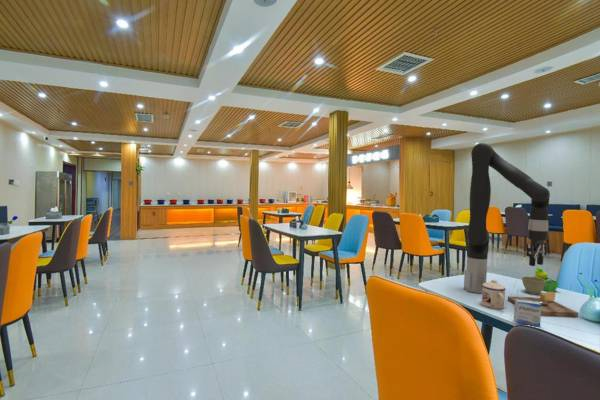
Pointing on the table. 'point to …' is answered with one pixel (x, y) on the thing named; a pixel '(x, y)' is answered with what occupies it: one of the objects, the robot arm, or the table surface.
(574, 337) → the table surface
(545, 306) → the sundial board
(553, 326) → the table surface
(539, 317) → the medicine box
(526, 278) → the bowl
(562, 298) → the table surface
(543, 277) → the fruit basket
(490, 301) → the teacup with lid
